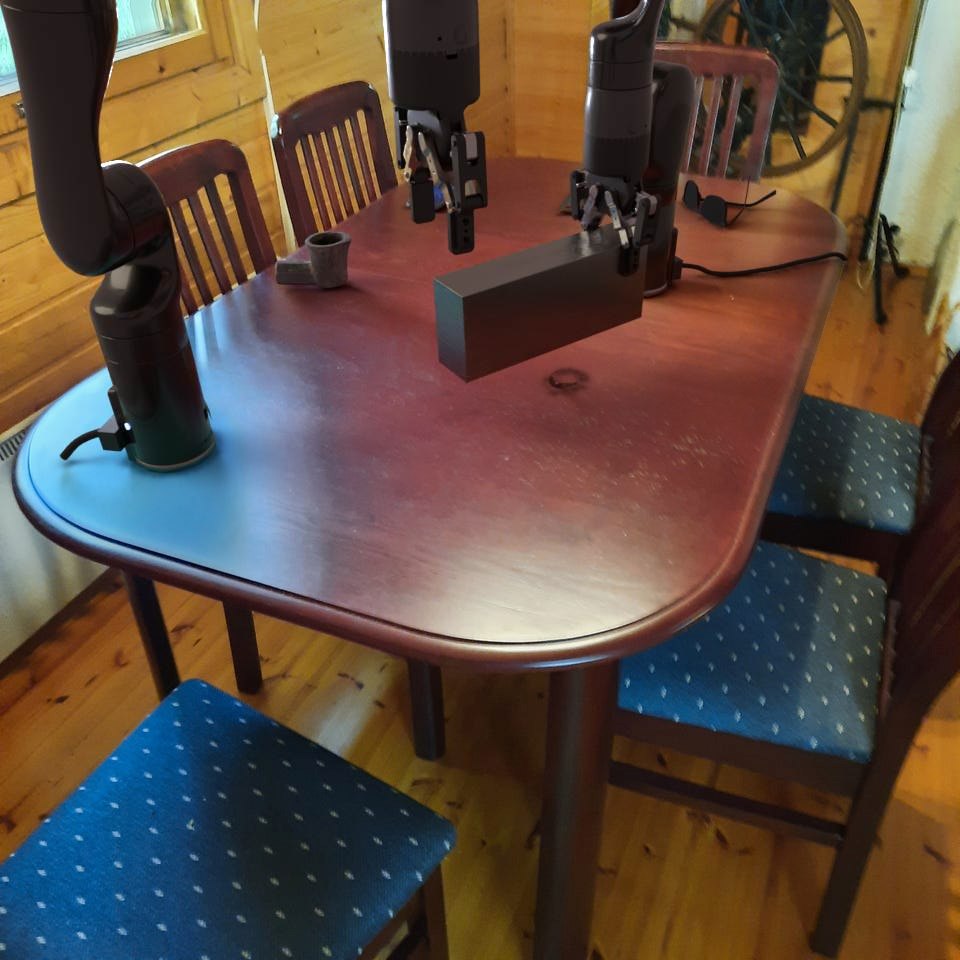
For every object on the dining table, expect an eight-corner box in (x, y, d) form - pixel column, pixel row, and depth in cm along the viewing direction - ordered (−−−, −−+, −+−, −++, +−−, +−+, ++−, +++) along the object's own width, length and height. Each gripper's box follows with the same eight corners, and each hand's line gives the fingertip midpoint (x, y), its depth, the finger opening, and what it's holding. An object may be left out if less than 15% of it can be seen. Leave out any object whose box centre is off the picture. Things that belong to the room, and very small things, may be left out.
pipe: (280, 280, 143) (272, 233, 138) (357, 276, 144) (351, 229, 139) (276, 295, 138) (268, 248, 133) (355, 291, 139) (350, 243, 134)
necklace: (540, 387, 113) (540, 381, 112) (560, 367, 117) (560, 360, 117) (569, 395, 111) (569, 388, 111) (588, 373, 116) (588, 367, 115)
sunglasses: (787, 221, 160) (792, 194, 157) (718, 230, 157) (722, 203, 154) (740, 193, 173) (744, 168, 170) (675, 201, 170) (678, 176, 167)
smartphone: (403, 203, 170) (439, 180, 181) (404, 207, 171) (440, 185, 181) (436, 207, 167) (471, 184, 178) (436, 212, 168) (471, 189, 179)
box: (610, 300, 114) (615, 221, 108) (641, 317, 110) (649, 236, 103) (438, 361, 103) (432, 277, 96) (466, 383, 99) (462, 296, 92)
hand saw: (572, 176, 184) (572, 173, 184) (593, 177, 184) (593, 174, 183) (557, 214, 165) (557, 210, 165) (581, 215, 165) (581, 211, 164)
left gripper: (357, 30, 72) (375, 219, 81) (423, 58, 61) (435, 272, 71) (439, 21, 74) (447, 206, 84) (515, 47, 64) (515, 255, 74)
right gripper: (687, 133, 93) (672, 277, 103) (601, 106, 103) (595, 240, 113) (635, 147, 90) (625, 294, 100) (551, 118, 100) (550, 255, 110)
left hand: (442, 236), depth 78 cm, fingers open, 8 cm apart
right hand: (609, 265), depth 107 cm, fingers closed on box, 6 cm apart
